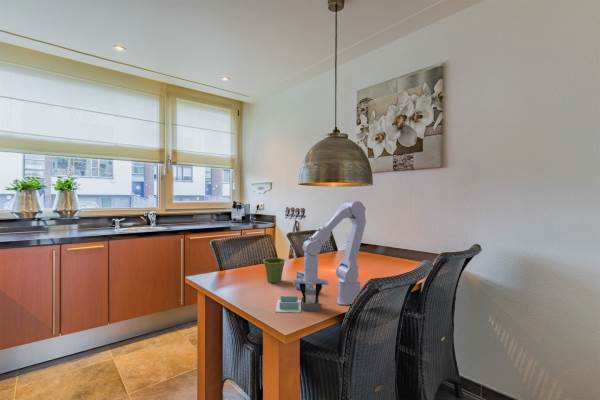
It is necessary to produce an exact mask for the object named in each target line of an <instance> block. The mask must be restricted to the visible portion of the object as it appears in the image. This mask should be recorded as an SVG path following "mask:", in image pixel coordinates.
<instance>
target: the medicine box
mask: <svg viewBox="0 0 600 400" xmlns="http://www.w3.org/2000/svg"><path fill="white" fill-rule="evenodd" d="M301 278H304V270H299V271H296V278H295V279H301ZM314 286H315V285H307V284H305V287H306V288H314ZM295 289H296V290H297V291H300V292H301V289H300V284H296V285H295ZM305 293H306V290H305Z"/></svg>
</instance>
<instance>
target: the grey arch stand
mask: <svg viewBox="0 0 600 400" xmlns="http://www.w3.org/2000/svg"><path fill="white" fill-rule="evenodd" d="M319 299H320V298H319V296H318V299H317V303H315V304H312V303H304V298H303V296H302V297H301V311H320V309H321V307H320V302H319V301H320V300H319Z"/></svg>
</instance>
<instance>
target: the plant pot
mask: <svg viewBox="0 0 600 400" xmlns="http://www.w3.org/2000/svg"><path fill="white" fill-rule="evenodd" d="M262 262H263V263H264V267H265V272H266V273H265V274H266V281H267V282H268V283H270V284H273V283H274V284H278V283H280V282H281V281H282V279H283V278H282V276H283V270H284V266H285V263H286V259H284V258H282V257H269V258H264V259H263V261H262Z"/></svg>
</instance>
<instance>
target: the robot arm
mask: <svg viewBox="0 0 600 400" xmlns="http://www.w3.org/2000/svg"><path fill="white" fill-rule="evenodd" d="M364 205H365V204H363V202H361V201H360V200H359V201H358V200H356V201H354V200H353V201H352V200H344V201H343V202H342V203H341V204H340V205H339V206H338V208H337V210H336V212H335V213H334V214H333V215H332V216H331V218H330V219H329V220H328V222H326V224H325V225H324V226H323V225H321V226H320V227H317V228H316V231H315V232H314V233H313V235H312V236H309V238H308V240H307V239H306V240H305V241H304V242H303V244H302V246H301V249H302V251H303V253H304V254H303V271H304V278H301V279H296V278H293V280H292V285H293V286H296V284H300V289H301V291H300V292H301V295H302V297H303V298H304V303H306V292H305V290H306V287H305V284H307V285H314V286H315V291H316V301H315V303H317V299H318V297H319V295H320V293H321V291H322V289H323V286H329V279H324V278H318V277H319V276H318V275H319V272H318V271H319V270H318V268H319V266H318V265H319V264H318V263H319V254H320V252H321V249H322V246H323V245H324V244H325V243H326V242H327V241H328V240H329V239H330V237H331V236H332V231H333V230H334V229H335V228H336V227H337V226H338V225H339V223H341V222H342V221H343V220H344V219H347V218H349V221H350V222H351V223H352V224H351V229H350V233H349V237H348V241H347V244H346V245H347V246H346V248H345V253H344V255H343V256H344V257H343V258H342V259H340V261H339V264H338V266H336V268H335V269H336V270H335V274H336V276H337V277H338V282H337V283H338V290H337V292H338V293H337V297H335V298H336V302H337V304H338V305H341V306H342V305H345V306H346V305H347V306H348V305H349V306H350V304H351V303H352V301H353V300H354V298H355V297H356V296H357V295H358V293H359V292H360V290H361V291H362V289H361V283H360V281H357V280H358V279H359V264H358V262H357V260H358V255H359V252H360V248H361V244H362V241H363V235H364V231H365V228H366V223H367V219H366V206H364Z"/></svg>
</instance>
